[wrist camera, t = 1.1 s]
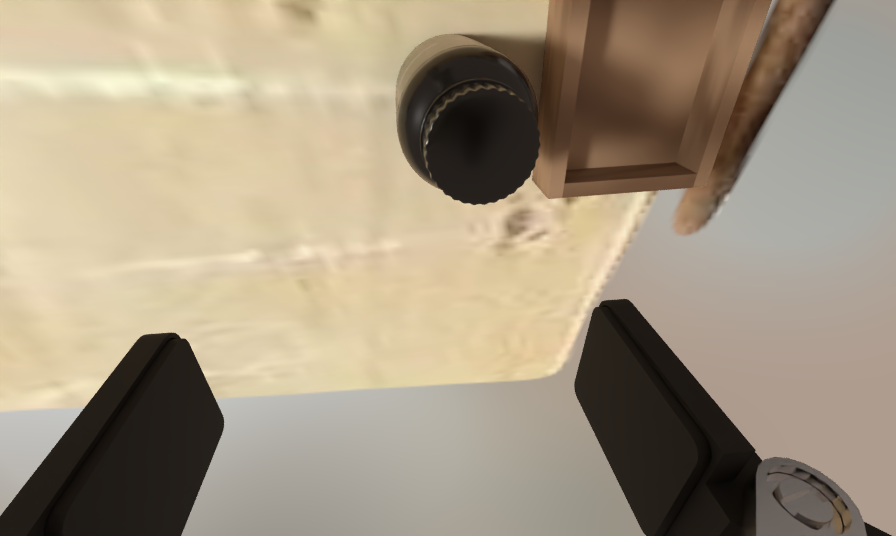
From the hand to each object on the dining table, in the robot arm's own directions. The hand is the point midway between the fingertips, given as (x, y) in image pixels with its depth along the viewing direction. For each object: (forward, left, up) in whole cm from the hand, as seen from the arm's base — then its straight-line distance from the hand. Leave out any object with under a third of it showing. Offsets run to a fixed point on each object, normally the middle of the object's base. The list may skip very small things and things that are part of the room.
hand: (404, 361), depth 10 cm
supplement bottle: (-2, +4, -21) cm, 21 cm away
